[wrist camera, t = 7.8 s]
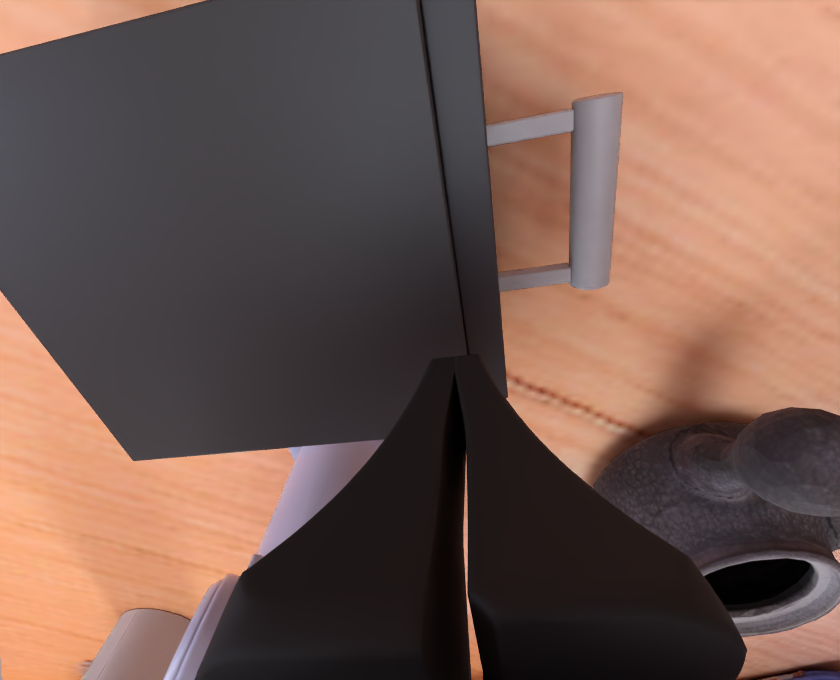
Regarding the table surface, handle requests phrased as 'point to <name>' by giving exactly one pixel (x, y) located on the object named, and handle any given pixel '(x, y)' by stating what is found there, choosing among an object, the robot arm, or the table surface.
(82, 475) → the table surface
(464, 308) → the drawer
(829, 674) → the lunch box
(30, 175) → the cabinet
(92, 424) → the table surface
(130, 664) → the cup
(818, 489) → the teapot
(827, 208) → the table surface
